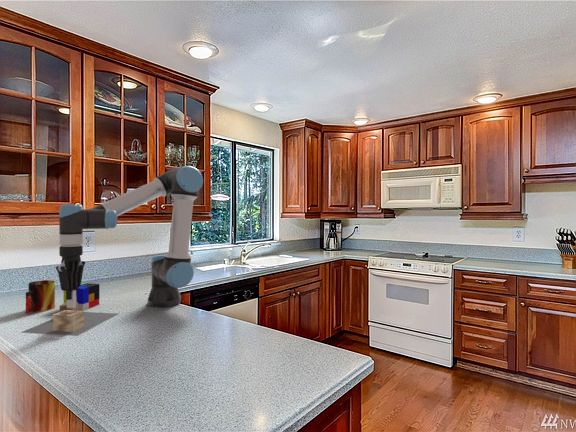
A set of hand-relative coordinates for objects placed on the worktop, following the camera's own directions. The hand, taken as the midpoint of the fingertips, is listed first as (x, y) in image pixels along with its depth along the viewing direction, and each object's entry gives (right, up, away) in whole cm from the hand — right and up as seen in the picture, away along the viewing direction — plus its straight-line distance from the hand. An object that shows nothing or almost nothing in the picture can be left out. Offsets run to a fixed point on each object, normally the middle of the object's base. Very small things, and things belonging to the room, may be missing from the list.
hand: (71, 307), depth 137 cm
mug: (-26, -7, +21) cm, 34 cm away
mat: (-3, -8, +6) cm, 10 cm away
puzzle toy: (-11, -7, +27) cm, 30 cm away
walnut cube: (-9, -7, +14) cm, 18 cm away
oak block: (0, -2, -1) cm, 2 cm away
